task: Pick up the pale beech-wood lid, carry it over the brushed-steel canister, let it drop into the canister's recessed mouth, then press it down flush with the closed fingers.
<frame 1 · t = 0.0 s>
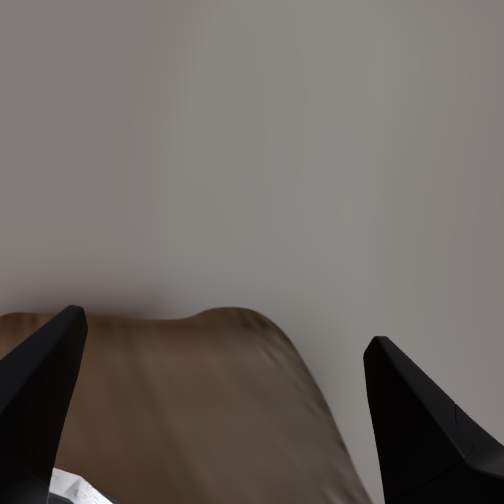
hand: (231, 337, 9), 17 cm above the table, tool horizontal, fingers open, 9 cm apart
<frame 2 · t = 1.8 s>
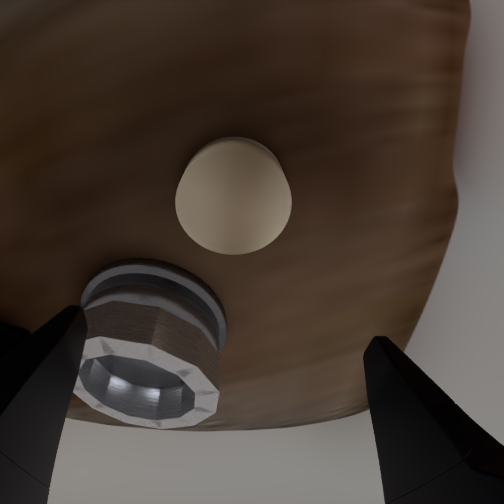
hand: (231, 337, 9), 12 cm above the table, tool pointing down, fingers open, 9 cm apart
lid: (233, 184, 19), on the table
canister: (152, 320, 24), on the table
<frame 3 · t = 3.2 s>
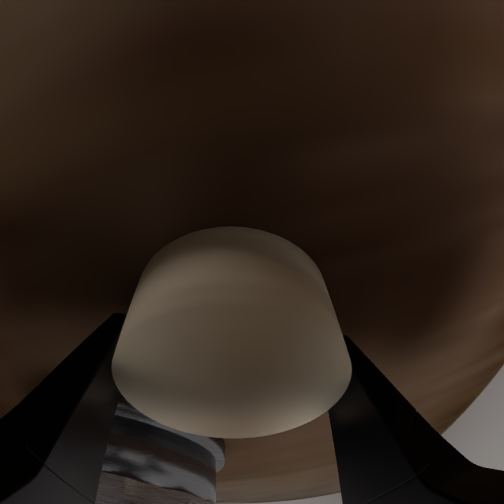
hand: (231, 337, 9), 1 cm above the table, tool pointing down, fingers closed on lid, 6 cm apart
lid: (231, 311, 10), on the table, touching gripper
canister: (126, 437, 16), on the table
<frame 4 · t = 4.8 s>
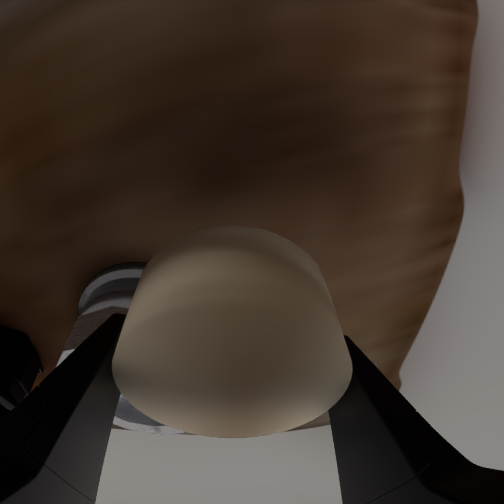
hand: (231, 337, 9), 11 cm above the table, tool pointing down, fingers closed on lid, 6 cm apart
lid: (231, 311, 10), point 10 cm above the table, touching gripper
canister: (151, 324, 24), on the table
when the fingers open (8 cm above the table, at t = 6.6 s): lid drops 3 cm, resting on canister.
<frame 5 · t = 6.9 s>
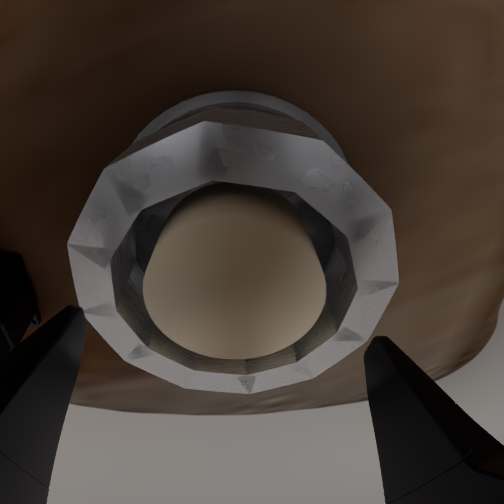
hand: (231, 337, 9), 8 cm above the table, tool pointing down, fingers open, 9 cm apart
lid: (234, 252, 13), point 4 cm above the table, touching canister
canister: (234, 208, 16), on the table
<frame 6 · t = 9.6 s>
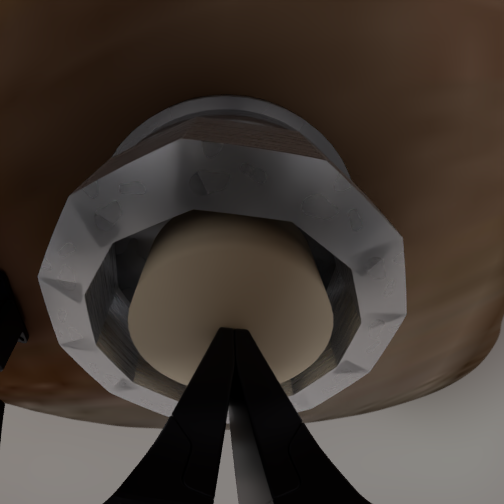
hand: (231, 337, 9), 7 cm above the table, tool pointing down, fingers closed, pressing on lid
lid: (230, 276, 11), point 4 cm above the table, touching canister, gripper
canister: (225, 225, 15), on the table
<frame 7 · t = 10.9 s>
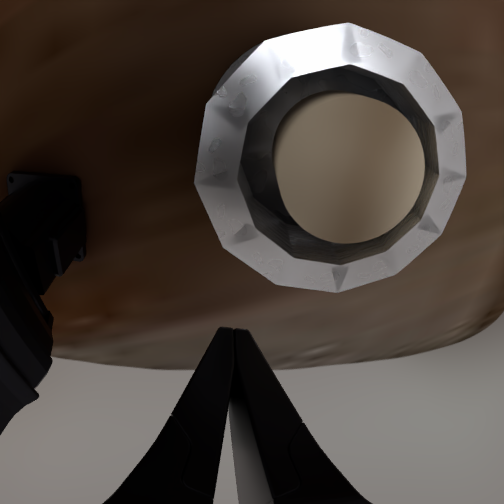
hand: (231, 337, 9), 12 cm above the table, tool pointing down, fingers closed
lid: (336, 153, 14), point 4 cm above the table, touching canister
canister: (312, 134, 17), on the table
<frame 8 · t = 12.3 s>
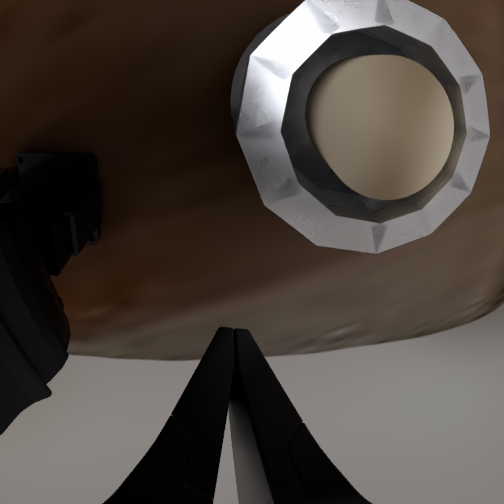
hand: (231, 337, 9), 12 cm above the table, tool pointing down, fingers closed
lid: (366, 116, 13), point 4 cm above the table, touching canister
canister: (335, 104, 16), on the table
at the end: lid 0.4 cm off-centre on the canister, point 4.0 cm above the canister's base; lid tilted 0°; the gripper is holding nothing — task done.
